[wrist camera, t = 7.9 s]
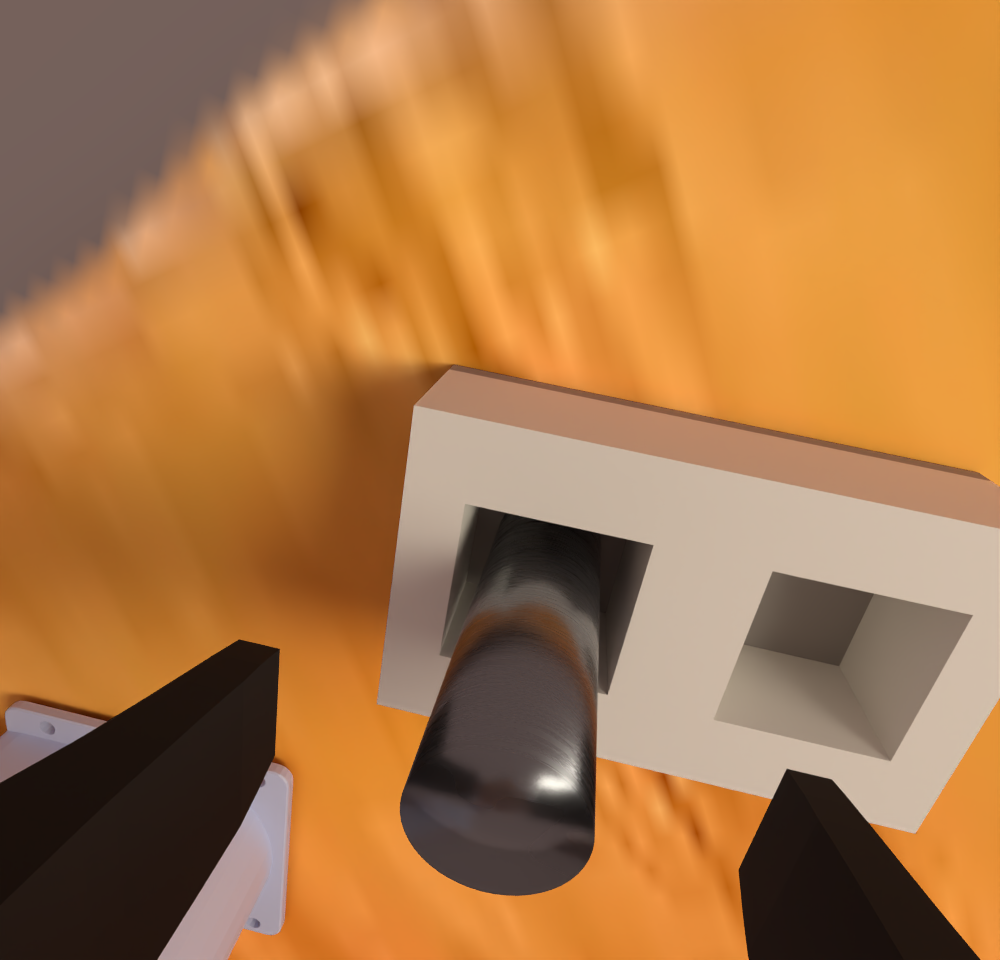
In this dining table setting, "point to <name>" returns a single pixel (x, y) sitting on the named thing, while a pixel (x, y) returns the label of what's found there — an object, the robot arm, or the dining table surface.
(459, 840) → the pin
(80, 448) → the dining table surface
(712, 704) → the bore block
